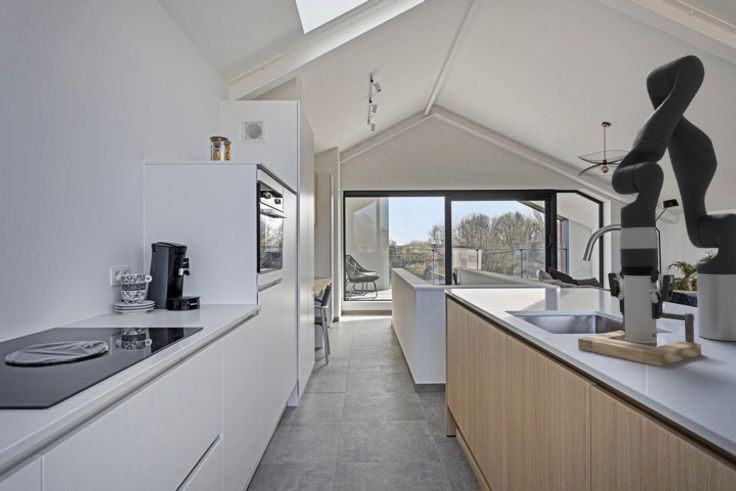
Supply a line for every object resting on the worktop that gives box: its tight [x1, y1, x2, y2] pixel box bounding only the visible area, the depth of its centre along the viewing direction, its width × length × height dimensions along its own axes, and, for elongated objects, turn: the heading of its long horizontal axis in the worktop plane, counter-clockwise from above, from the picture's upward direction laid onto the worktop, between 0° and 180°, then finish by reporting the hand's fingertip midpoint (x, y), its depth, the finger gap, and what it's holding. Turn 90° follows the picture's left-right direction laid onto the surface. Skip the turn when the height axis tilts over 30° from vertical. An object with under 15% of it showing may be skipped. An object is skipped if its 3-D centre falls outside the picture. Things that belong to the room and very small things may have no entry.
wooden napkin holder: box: [577, 311, 702, 367], centre depth 96 cm, size 18×18×9 cm
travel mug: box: [623, 266, 658, 347], centre depth 97 cm, size 6×7×20 cm
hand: (640, 316), depth 97 cm, fingers closed on travel mug, 6 cm apart
